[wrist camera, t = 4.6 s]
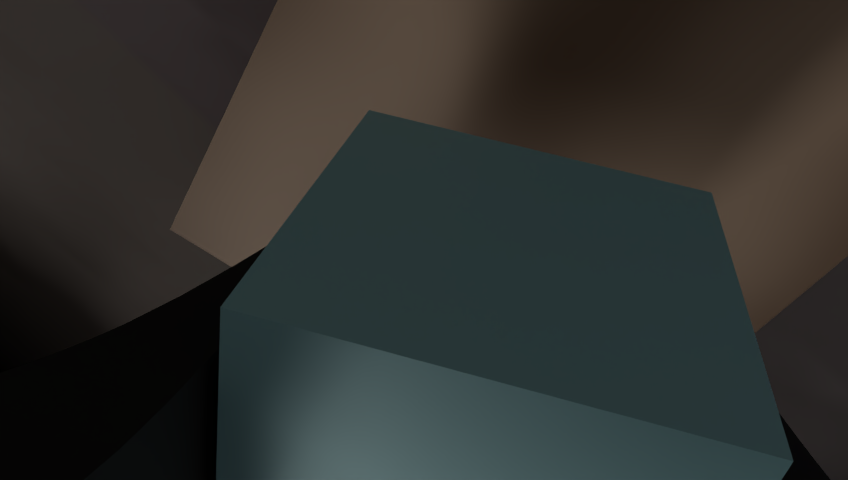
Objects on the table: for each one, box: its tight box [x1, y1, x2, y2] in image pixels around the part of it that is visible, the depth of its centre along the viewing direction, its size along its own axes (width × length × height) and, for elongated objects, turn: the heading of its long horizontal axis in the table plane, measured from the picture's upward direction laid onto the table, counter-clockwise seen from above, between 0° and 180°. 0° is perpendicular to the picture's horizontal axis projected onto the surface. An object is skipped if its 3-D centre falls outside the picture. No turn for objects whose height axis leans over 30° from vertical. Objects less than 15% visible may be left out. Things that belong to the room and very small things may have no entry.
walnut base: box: [170, 0, 848, 333], centre depth 16 cm, size 12×12×2 cm
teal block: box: [216, 110, 793, 480], centre depth 10 cm, size 5×5×5 cm
